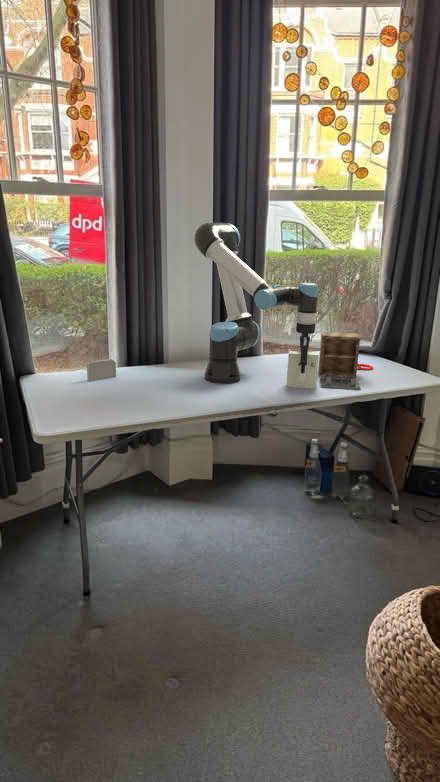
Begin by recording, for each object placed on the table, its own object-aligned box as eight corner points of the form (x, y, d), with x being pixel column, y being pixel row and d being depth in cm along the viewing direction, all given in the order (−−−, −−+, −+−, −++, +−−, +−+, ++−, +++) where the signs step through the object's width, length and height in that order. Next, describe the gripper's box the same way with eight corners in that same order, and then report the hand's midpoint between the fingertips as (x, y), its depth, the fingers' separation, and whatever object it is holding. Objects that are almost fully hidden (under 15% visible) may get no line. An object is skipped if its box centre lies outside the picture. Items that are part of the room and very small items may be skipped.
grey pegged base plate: (320, 387, 234) (321, 377, 233) (319, 380, 244) (320, 371, 242) (360, 389, 232) (361, 380, 231) (357, 382, 242) (358, 373, 241)
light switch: (116, 377, 239) (115, 359, 236) (89, 381, 232) (88, 362, 230) (114, 376, 240) (114, 358, 238) (87, 380, 234) (86, 361, 231)
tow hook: (369, 366, 270) (350, 365, 269) (373, 339, 266) (354, 338, 265) (375, 371, 262) (355, 370, 261) (380, 344, 258) (360, 343, 257)
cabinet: (318, 375, 250) (322, 335, 245) (318, 370, 258) (321, 331, 252) (355, 378, 249) (360, 337, 243) (354, 373, 256) (358, 333, 250)
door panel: (286, 387, 233) (288, 354, 228) (286, 383, 238) (288, 351, 233) (316, 389, 232) (318, 355, 227) (315, 385, 236) (318, 352, 232)
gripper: (316, 328, 217) (311, 385, 224) (314, 318, 236) (310, 371, 243) (296, 327, 217) (292, 384, 224) (296, 317, 237) (292, 369, 244)
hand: (301, 377), depth 234 cm, fingers open, 8 cm apart
